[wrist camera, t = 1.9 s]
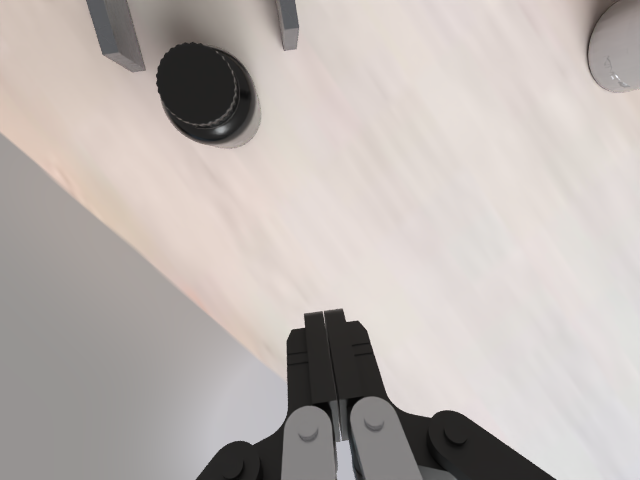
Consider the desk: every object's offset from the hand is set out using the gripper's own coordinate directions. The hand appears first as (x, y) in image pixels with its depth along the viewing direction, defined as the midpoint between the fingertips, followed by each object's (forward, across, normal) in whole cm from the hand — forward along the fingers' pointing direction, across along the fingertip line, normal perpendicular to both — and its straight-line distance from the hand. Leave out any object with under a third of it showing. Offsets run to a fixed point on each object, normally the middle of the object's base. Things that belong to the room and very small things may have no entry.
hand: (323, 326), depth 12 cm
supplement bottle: (+25, +6, -4) cm, 26 cm away
